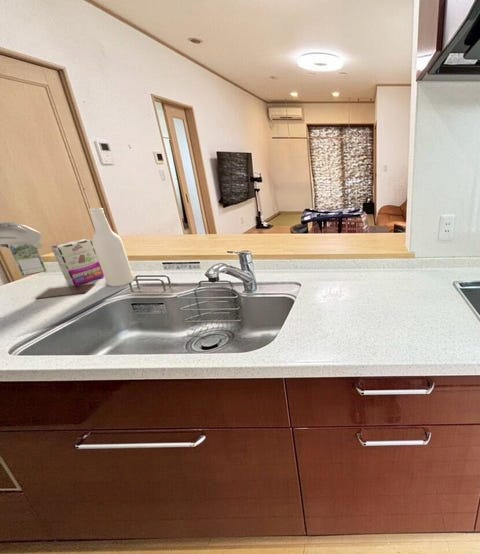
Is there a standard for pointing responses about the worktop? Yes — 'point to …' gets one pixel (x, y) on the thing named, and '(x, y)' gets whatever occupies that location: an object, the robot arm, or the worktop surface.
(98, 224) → the alcohol
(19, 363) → the worktop surface
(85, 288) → the board
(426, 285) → the worktop surface
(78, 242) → the candy bar box
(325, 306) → the worktop surface
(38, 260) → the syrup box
